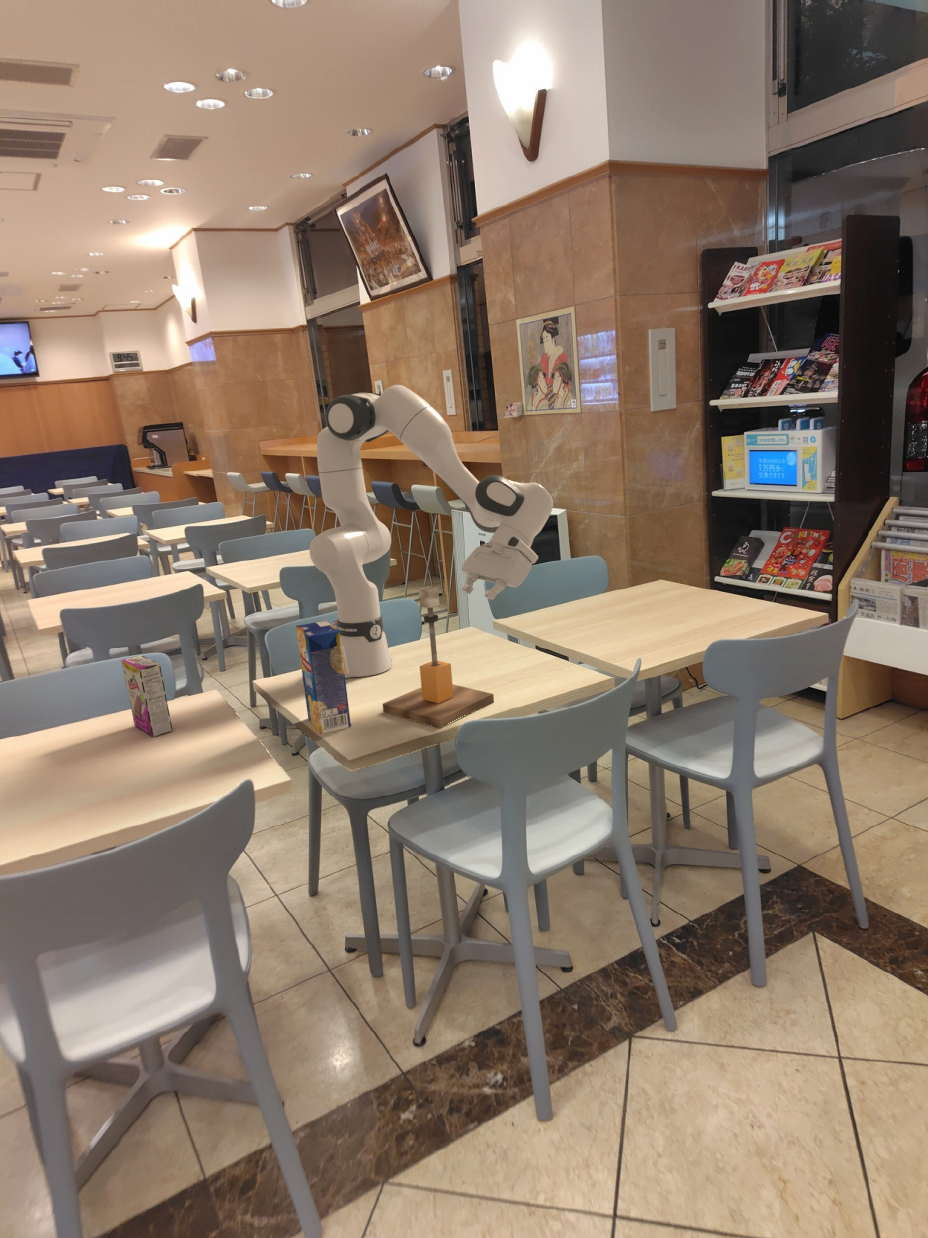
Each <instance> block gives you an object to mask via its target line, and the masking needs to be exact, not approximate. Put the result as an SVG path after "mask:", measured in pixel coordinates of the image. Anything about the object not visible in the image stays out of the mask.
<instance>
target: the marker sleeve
mask: <svg viewBox="0 0 928 1238" xmlns="http://www.w3.org/2000/svg"><path fill="white" fill-rule="evenodd" d="M437 662H438V666H436V667H435V666H433V665H432V660H431V661H430V662H429V661H428V662H427V663H424V664H422V665H419V675H420V685H421V687H422V698H423V700H427V701H431V702H434V703H441V702H443V701H445V700H447V699H449V698H452V697H453V686H452V684H453V676H452V675H453V674H452V664H451V663H450V662H446V661H441V660H437ZM421 687H420V688H421Z"/></svg>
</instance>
